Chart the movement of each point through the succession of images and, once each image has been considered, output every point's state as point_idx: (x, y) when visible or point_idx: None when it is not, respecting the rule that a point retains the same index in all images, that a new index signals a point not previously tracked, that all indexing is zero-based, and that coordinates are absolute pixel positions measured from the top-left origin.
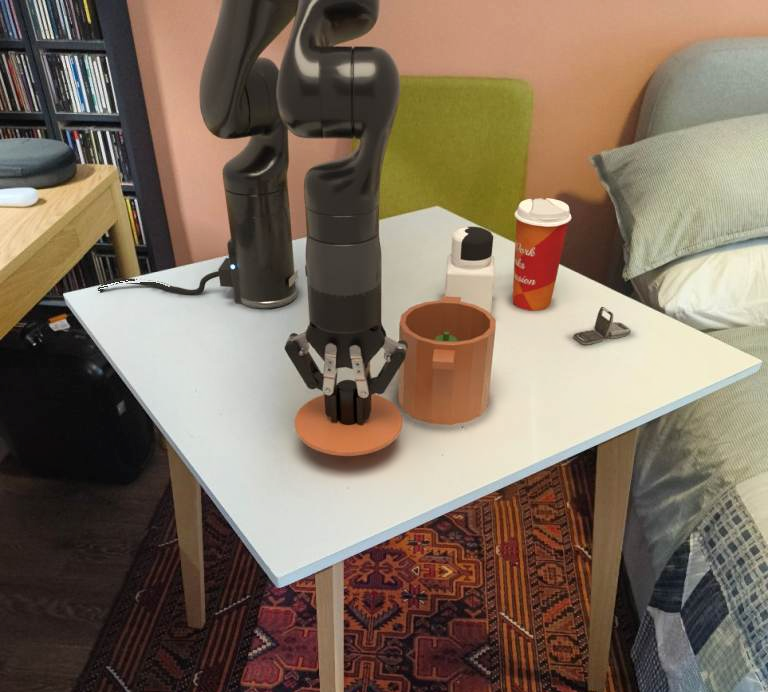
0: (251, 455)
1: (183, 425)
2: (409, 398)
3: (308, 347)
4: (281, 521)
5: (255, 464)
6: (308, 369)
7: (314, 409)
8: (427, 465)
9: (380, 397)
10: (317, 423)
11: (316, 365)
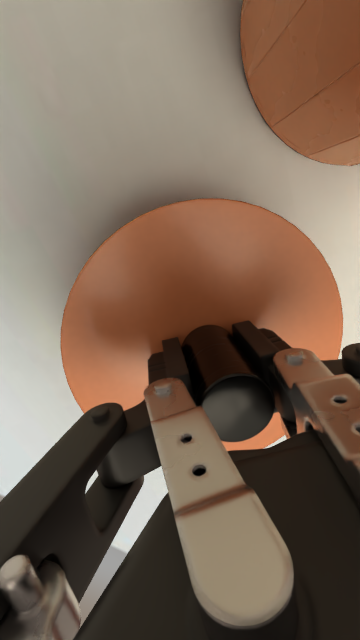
0: (9, 399)
1: None
2: (315, 129)
3: (69, 613)
4: None
5: (34, 419)
6: (108, 546)
7: (101, 340)
8: (351, 307)
9: (260, 213)
10: (138, 393)
11: (101, 443)
